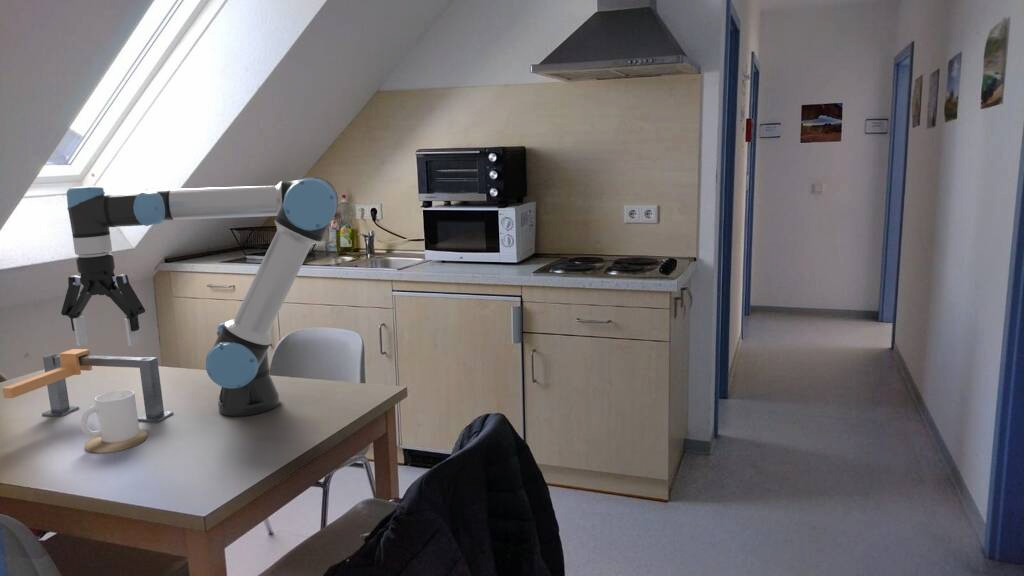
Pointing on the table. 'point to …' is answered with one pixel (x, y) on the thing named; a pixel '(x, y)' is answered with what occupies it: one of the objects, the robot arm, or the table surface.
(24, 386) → the orange bar
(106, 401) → the mug
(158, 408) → the rail frame
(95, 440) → the coaster
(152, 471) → the table surface
